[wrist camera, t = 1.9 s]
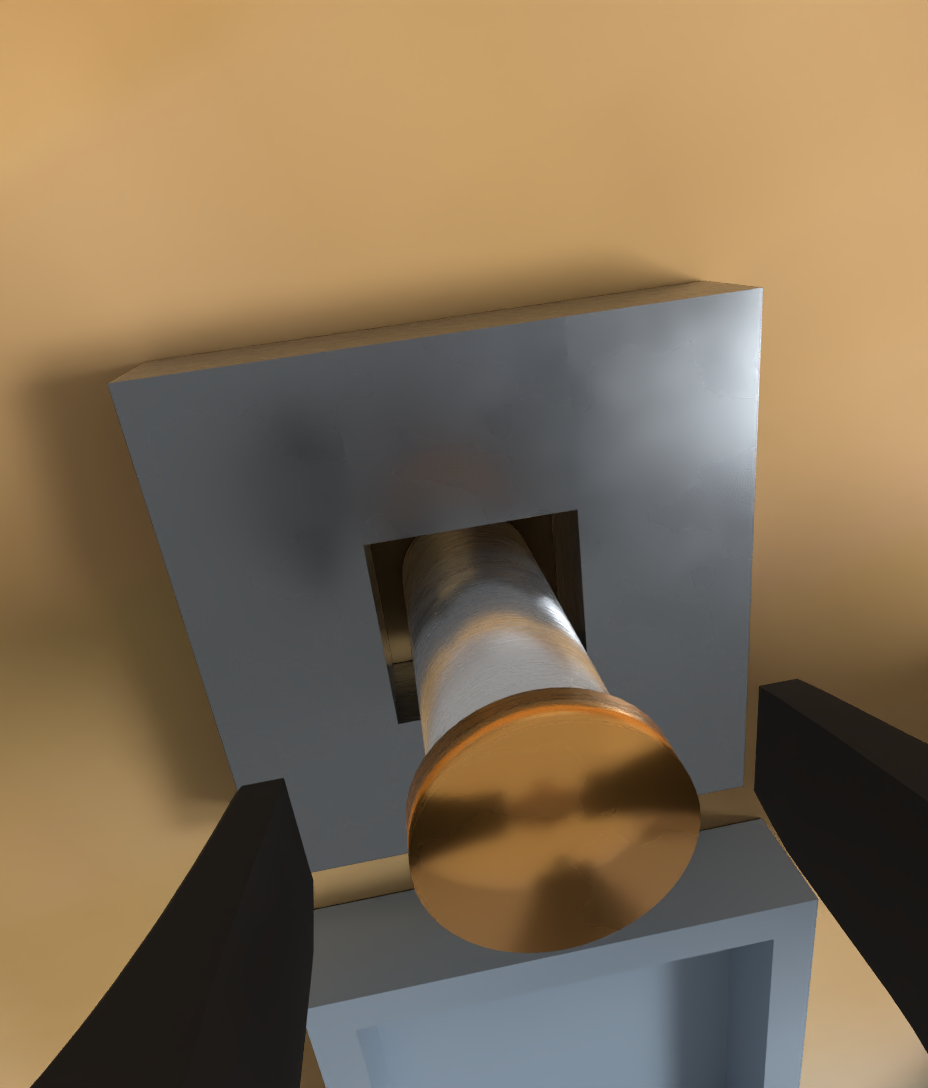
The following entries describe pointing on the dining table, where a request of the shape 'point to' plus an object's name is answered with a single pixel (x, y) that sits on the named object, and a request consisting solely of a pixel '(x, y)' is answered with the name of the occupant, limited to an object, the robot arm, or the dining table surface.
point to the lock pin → (529, 760)
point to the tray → (579, 989)
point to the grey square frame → (455, 523)
